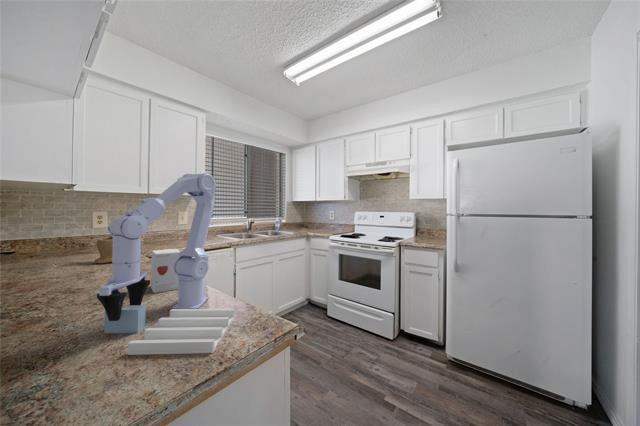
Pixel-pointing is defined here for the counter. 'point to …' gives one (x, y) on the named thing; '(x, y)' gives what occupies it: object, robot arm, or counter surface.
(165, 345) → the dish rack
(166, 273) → the supplement box
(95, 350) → the counter surface
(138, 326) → the blue block
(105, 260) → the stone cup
